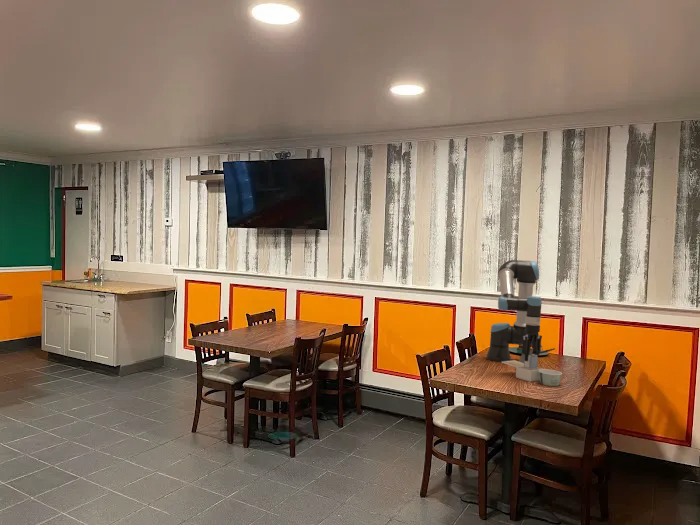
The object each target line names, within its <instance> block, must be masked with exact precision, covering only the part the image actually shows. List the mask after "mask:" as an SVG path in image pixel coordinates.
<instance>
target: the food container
mask: <svg viewBox="0 0 700 525" xmlns="http://www.w3.org/2000/svg"><path fill="white" fill-rule="evenodd" d="M539 374H540V381H539V382H540V383H539V384H542V385H544V386H550V387H558V386H559V385H560V381H561V377H562V375H563V373H562V372H561V371H559V370H556V369H555V370H554V369H549V368H548V369H546V368H542V369H541V370H539Z"/></svg>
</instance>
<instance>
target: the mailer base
mask: <svg viewBox="0 0 700 525" xmlns="http://www.w3.org/2000/svg"><path fill="white" fill-rule="evenodd" d="M541 369H543V368H541V367H538V366H537V368H527V367H524V366H520V367H515V379H519V380H522V381H527V382H530V383H532V382H533V383H534V382H540V374H539V370H541Z"/></svg>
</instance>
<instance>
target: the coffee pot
mask: <svg viewBox="0 0 700 525" xmlns="http://www.w3.org/2000/svg"><path fill="white" fill-rule="evenodd" d="M556 350H557V349H556V348H554V347H553V348H550V349H545V350H543V351H542V352H540V353H545V352H548V353H549V352H551V351H555V352H557V351H556ZM532 352H533V348H532V349H530V353H529V355H531V356H532ZM540 353H539V354H540ZM524 356H525V355H524V354H521V356H520V357H519V360H517V361H518V362H521V363H524Z"/></svg>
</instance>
